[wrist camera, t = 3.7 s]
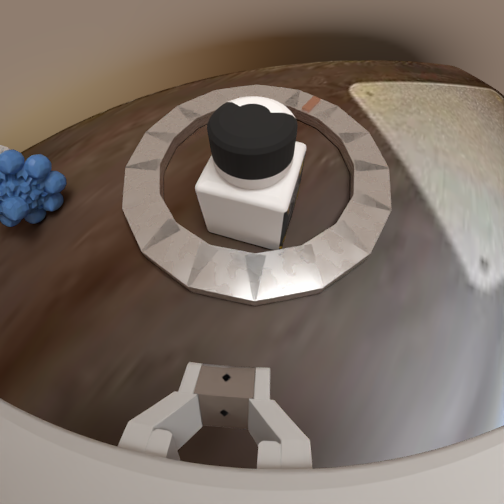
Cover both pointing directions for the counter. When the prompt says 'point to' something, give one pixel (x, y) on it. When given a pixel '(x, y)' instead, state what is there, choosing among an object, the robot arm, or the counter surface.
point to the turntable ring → (266, 263)
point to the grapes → (28, 188)
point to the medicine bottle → (251, 171)
